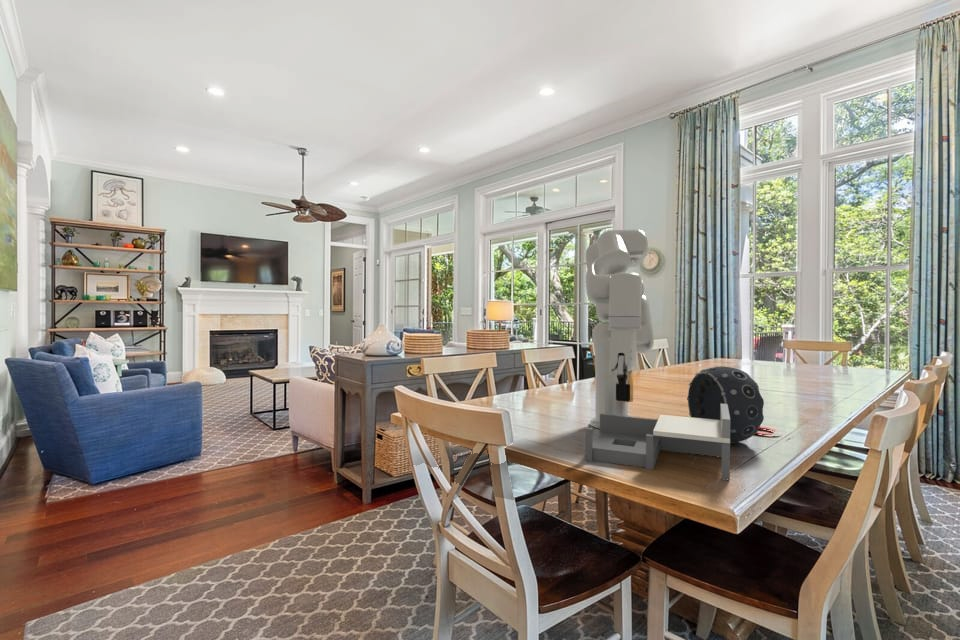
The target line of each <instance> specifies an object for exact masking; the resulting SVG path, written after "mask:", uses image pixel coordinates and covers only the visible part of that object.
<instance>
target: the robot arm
mask: <svg viewBox="0 0 960 640" xmlns="http://www.w3.org/2000/svg"><path fill="white" fill-rule="evenodd" d="M648 247H649V241H648V237H647V235H646V233H645V232H644V231H643V230H641V229H611V230H607V231H606V230H605V232H602V233H601V234H600V235H599V237H598V239H597V241H596V242H595V243H592V244H590V245H588V246H587V248H586V251H585V263H586V264H585V265H586V268H587V270H586V273H585V290H586V296H587V298H588V301H590V302H591V303H593V304H595V313H596V317H597V319H598V321H600V322H599V323H597V324H595V326H594V327H593V330H592V333H591V334H592V335H591V336H592V344H593V349H594V361H595V370H594V371H595V372H594V373H595V376H594V377H595V378H594V379H595V384H594V385H595V391H594V392H595V400H594V401H595V403H594V404H595V411H594V412H595V415H594V416H595V417H594V418H591V419H590V421H589V424H590V426H591V427H592V428H596V429H599V430H600V414H609V415H619V416H629V402H620V401H630V384H629V372H630V371H632V372H633V370H634V369H635V368H636V366H637V365H636V364H637V354H648V353H650V352H651V350H652V349H653V348H654V342H655V341H654V340H655V339H654V330H653V323H652V317H651V316H652V315H651V310H650V309H651V308H650V304H649V300H648V298H647V296H646V295H644V294H645V293H644V292H645V287H644V281H643V280H642V277H641V275H640V274H638V273H636V272H627V271H628V270H629V268H636V267H639V266H640V264H641V263H642V261H643V260H644V259H645V257H646V255H647V252H648V249H649V248H648ZM616 371H617V375H616ZM625 374H626V375H625ZM616 400H617V401H616Z"/></svg>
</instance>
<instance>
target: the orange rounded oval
mask: <svg viewBox="0 0 960 640" xmlns="http://www.w3.org/2000/svg"><path fill="white" fill-rule="evenodd" d="M616 375H617V371H616ZM625 375H626V374H625ZM629 384H630V401H620V402H628V403H633V402H634V371H633V370H632V371H630V372H629ZM616 401H617V400H616Z"/></svg>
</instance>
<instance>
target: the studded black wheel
mask: <svg viewBox="0 0 960 640" xmlns="http://www.w3.org/2000/svg"><path fill="white" fill-rule="evenodd" d="M688 385H689V388H688V393H687V397H686V400H687V405H688V412H689V414H688V415H689V417H692V418H703V419H714V420H720V403H721V404H728V410H729V415H730V444H733V443H739V442H743V441H747V440H749V439H750V438H752V437H754V436H756V435H755V434H756V433H757V432H759V430H758V429H759V427H760V426H761V425H762V424H763V421H764V419H765V416H764V405H765V403H764V398H763V396H762V395H761V393H760V386H759V384H758V382H756V381H755V379H753V378H752V377H751V376H750V374H749V373H747V372H746V371H743V370H741V369H739V368H735V367H731V366H724V365H723V366H711V367H709V368H706V369H705V368H704V369H701V370H700V372H698V373H695V375H694V377H693V378H692V380H691V381H690V382H689V384H688Z"/></svg>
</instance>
